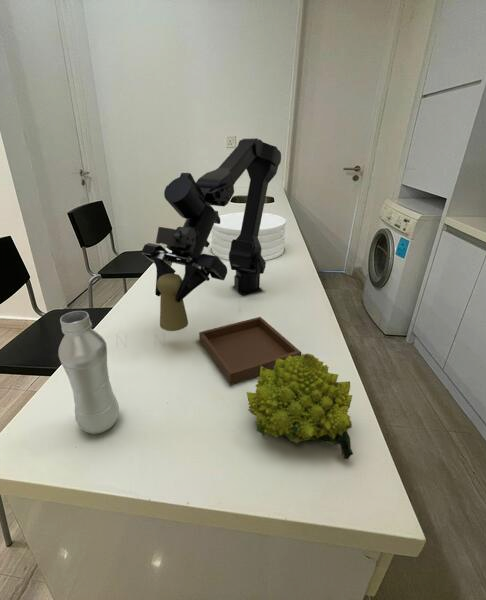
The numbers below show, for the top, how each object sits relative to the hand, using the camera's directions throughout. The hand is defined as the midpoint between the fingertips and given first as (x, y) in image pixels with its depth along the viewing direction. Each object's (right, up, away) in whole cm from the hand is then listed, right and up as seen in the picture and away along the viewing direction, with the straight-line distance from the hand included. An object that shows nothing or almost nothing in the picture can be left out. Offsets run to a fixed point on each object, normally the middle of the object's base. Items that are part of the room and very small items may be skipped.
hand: (166, 298), depth 66 cm
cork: (+1, -5, +4) cm, 7 cm away
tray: (+17, -11, +4) cm, 20 cm away
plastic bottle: (-9, -21, -12) cm, 26 cm away
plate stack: (+24, +20, +64) cm, 71 cm away
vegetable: (+23, -20, -14) cm, 33 cm away
